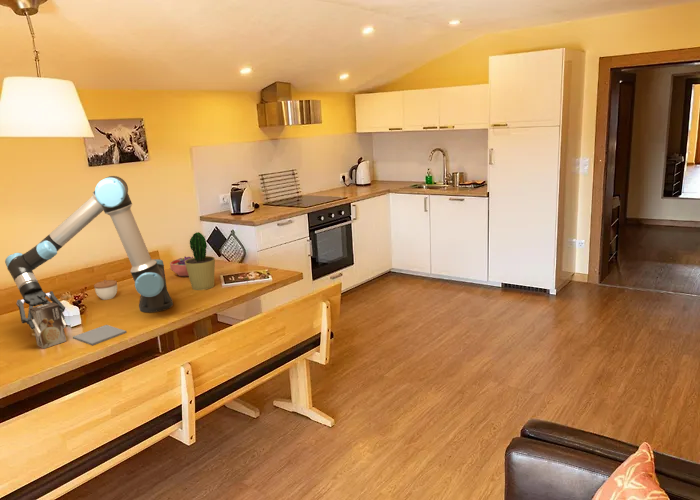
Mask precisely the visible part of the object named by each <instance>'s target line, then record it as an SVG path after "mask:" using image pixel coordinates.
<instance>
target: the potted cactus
mask: <svg viewBox="0 0 700 500" xmlns="http://www.w3.org/2000/svg"><path fill="white" fill-rule="evenodd" d="M206 236H207V235H204V234H202V232H200V231H198V232H197V231H195V232H194V233H192V235H191V236H190V238H189V247H190V251H191V253H192V255H193V258H190V259H187V260H186V261H185V265H186V268H187V272H188V275H189V276H188V279H189V282H190V285H191V288H192V290H194V291H204V290H209V289H212V288H213V287H215V270H216V269H215V266H216V257H214V256H209V255H207V252H208V251H207V249H208V250H209V247H208V243H207V239H206ZM206 255H207V256H206Z"/></svg>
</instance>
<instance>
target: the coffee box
mask: <svg viewBox="0 0 700 500" xmlns="http://www.w3.org/2000/svg"><path fill="white" fill-rule="evenodd" d="M30 312H31V314H32V319H31V320H33V319H34V320H35V322H36V324H37V326H38V328H39V329H40V331H41V334H40V336H37V334H36V332H35V330H34V329H33V330H34V336H35V340H36V345H37V346H38V347H40V348H41V349H44V350H45V349H47V348H51V347H54V346H56V345H58V344H62V343H65V342H67V338H66V333H65V328H64V327H63V322H62V317H61V312H60V307H59V304H56V303H53V302H52V301H51V303H48V304H44V305H37V306H33V308H30Z"/></svg>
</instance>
